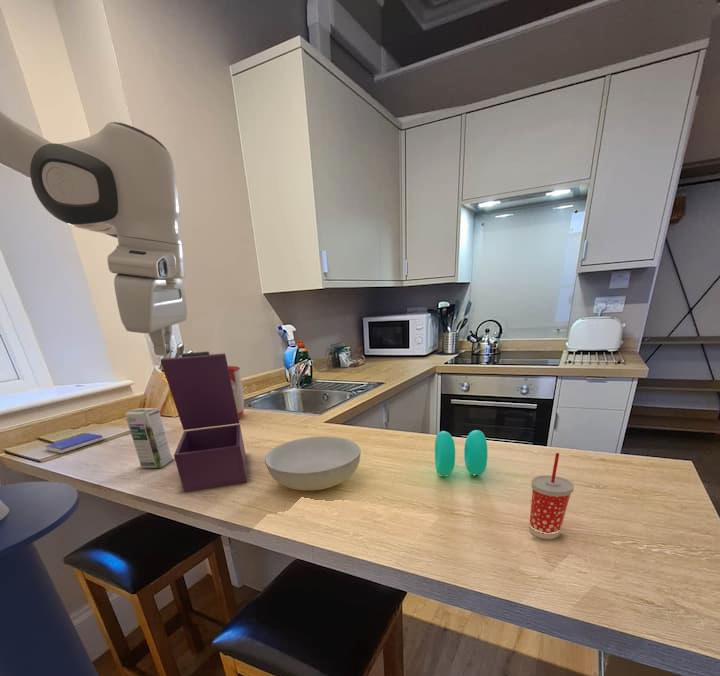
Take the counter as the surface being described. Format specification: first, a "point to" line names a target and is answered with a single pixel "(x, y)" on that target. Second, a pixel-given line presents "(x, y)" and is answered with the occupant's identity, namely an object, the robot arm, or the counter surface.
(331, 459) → the serving bowl
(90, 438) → the hard drive
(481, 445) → the pair of teal ovoids
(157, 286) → the robot arm
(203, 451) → the box
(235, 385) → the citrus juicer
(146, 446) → the syrup box
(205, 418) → the lid
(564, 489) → the beverage cup
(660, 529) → the counter surface
